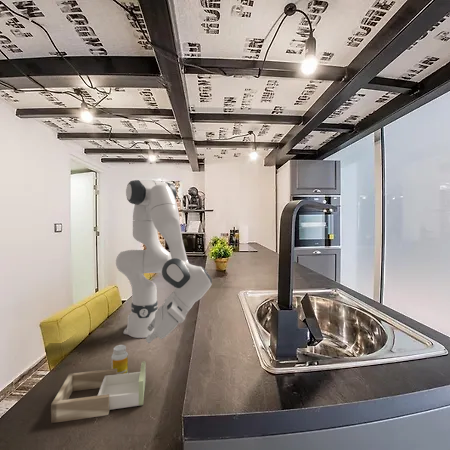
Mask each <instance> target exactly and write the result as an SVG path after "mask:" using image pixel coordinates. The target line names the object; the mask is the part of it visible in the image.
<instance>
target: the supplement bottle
mask: <svg viewBox="0 0 450 450" xmlns="http://www.w3.org/2000/svg"><path fill="white" fill-rule="evenodd" d="M110 359H111V360H110V369H117V374H124V373H129V372H128V371H129V369H128V368H129V353H128V351H127V346H126V345H125V344H119V345H115V346H114V347H113V353H112V354H111V357H110Z"/></svg>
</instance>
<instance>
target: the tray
mask: <svg viewBox="0 0 450 450" xmlns="http://www.w3.org/2000/svg"><path fill="white" fill-rule="evenodd" d="M146 364H147V363H146V360H145V361H144V360H143V361H141V365H140V371H136V372H128V373H124V374H116V375H107V376H105V377H104V379H103V382H102V385H101V387H100V388H99V390H98V394H97V396H99V395H107V394H109V411H110V410H116V409H124V408H132V407H137V406H143V405H144V400H145V399H144V398H145V391H146V390H145V389H146V369H147V368H146Z"/></svg>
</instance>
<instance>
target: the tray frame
mask: <svg viewBox="0 0 450 450" xmlns="http://www.w3.org/2000/svg"><path fill="white" fill-rule="evenodd" d="M116 374H117V369H111V368H109V369H102V370H92V371H91V370H90V371H84V372H74V373H69V374H68V375H67V377H66V379H65V380H64V382H63V384H62V386H61V387H60V389H59V391H58V393H57V394H56V396H55V398H54V399H53V401H52V402H51V404H50V405H51V406H50V414H51V415H50V418H51V419H50V420H51V421H50V423H51V424H53V423H56V424H57V423H62V422H68V421H75V420H83V419H89V418H94V417H104V416H108V415H109V414H110V410H109V394H107V395H99V396H98V395H93V396H85V397H78V398H71V397H70V396H71V395H72V394H73V392H76V391H86V390H94V389H100V387H101V385H102V382H103V379H104V377H105V376H107V375H116Z"/></svg>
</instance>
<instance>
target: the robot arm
mask: <svg viewBox="0 0 450 450" xmlns="http://www.w3.org/2000/svg"><path fill="white" fill-rule="evenodd" d="M125 196H126V200H127V201H128V202H129V203H130V204H131V205H134V206H133V211H132V237H133V238H134V240H135V241H137V242H139V243H141V244H143V245H144V246H145V248H146V249H129V250H124V251H120V252H119V253H118V254H117V256H116V259H115V266H116V269H117V270H118V271H119V272H120V273H121V274H123V275H124V276H125V277H126V278H127V280H128V281H129V283H130V285H131V286H130V287H131V295H132V297H131V298H132V302H131V305H130V307H131V308H130V309H131V312H130V313H129V314H128V315H127V326H126V328H125V329H124V330H123V335H128V336H130V337H132V338H138V339H141V338H142V339H143V338H145V342H147V343H148V344H150V343H151V342H152V341H153V340H155V339H157V338H159V339H160V340H162V339H165V338H166V337H167V336H168V335H169V334H170V333H171V332H173V331H174V329H176V327H177V326H178V325H179V324H182V323H183V322H184V321H185V320H186V316H187V314H188V313H189V311H190V310H191V309H192V308H193V306H194V304H195V303H196V302H198V301H199V300H201V298H203V296H204V295H206V293H207V292H208V291H209V289H210V288H211V286H212V283H213V280H212V279H213V278H212V277H211V275H210V274H209V273H208V271H207V269H206V268H205V267H203V266H200V265H199V266H198V265H194V264H192V263H191V262H190V261H189V258H188V255H187V251H186V247H185V244H184V240H183V233H182V226H181V218H180V212H179V207H178V203H177V189H176V186H175V185H174V184H173V183H170V182H164V181H160V180H140V179H139V180H138V179H135V180H130V181H128V183H127V186H126V189H125ZM158 233H159V234H160V235H161V237H163V239H164V240H165V242H166V244H167V246H168V249H169V251H168V250H167V249H166V248H165V247H164V246H163V245H162V243H161V241H160V239H159V234H158ZM145 274H161V276H162V278H163V279H164V281H165V282H166V283H168V284H170V285H171V286H173V287H174V290H173V291H172V292H171V293H170V294H169V295H168V296H167V297H166V298H165V299H164V303H163V304H162V305H160V307H159V302H158V297H157V296H158V291H157V289H158V288H157V284H156V283H155V282H154V281H153V280H150V279H148V278H147V277H146V276H145Z"/></svg>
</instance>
